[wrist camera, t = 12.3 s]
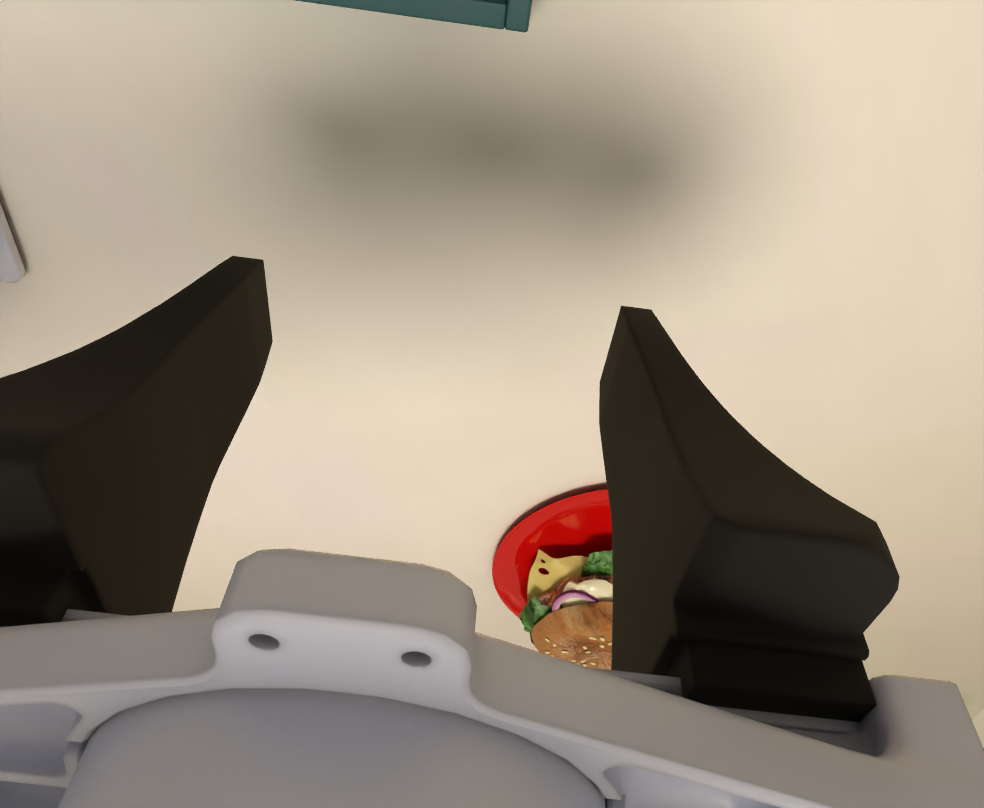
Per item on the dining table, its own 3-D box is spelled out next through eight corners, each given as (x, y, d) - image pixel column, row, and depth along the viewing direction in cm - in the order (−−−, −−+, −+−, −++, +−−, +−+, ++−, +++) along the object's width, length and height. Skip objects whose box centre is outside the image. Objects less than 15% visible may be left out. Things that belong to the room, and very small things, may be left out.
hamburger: (744, 645, 42) (767, 753, 38) (499, 639, 43) (493, 743, 39) (799, 481, 33) (838, 599, 28) (484, 479, 34) (474, 592, 29)
